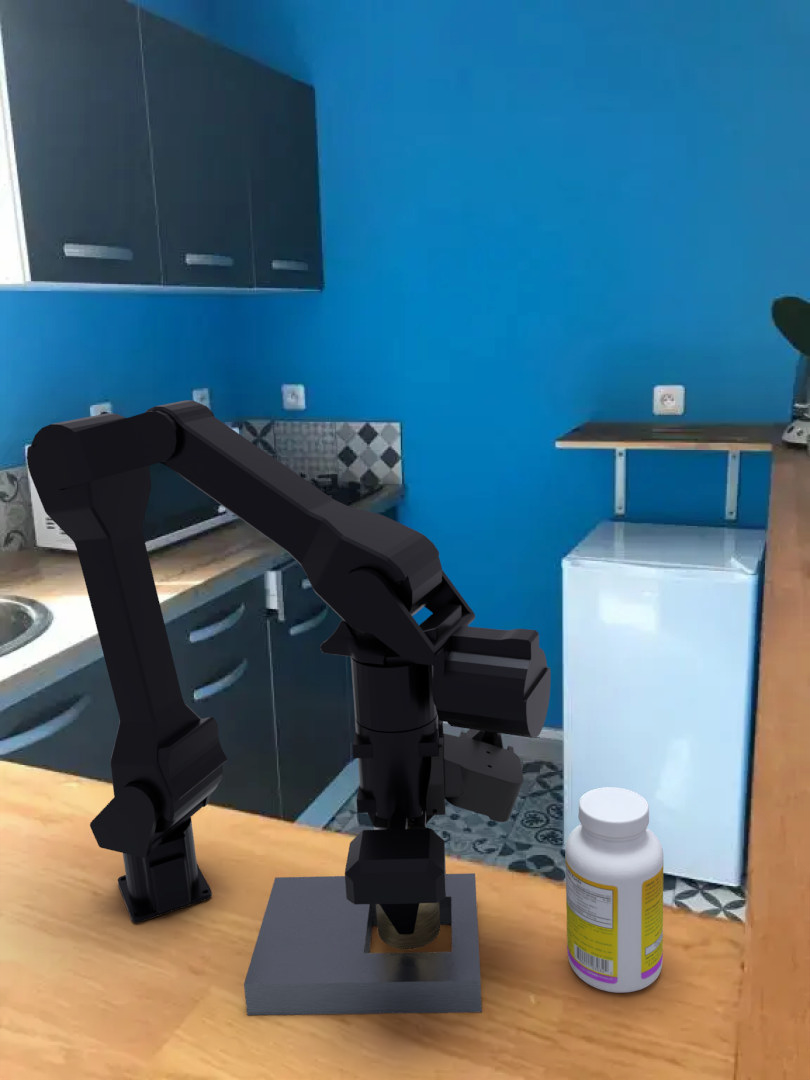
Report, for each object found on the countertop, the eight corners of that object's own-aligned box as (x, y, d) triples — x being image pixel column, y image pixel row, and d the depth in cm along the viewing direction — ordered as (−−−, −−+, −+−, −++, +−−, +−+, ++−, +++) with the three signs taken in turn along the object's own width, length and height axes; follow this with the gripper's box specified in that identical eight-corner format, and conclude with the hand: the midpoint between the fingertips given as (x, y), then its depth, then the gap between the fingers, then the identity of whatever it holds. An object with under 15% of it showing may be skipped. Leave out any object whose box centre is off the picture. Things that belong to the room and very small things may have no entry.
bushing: (367, 921, 70) (361, 837, 68) (421, 901, 72) (417, 819, 70) (395, 957, 66) (389, 869, 64) (451, 935, 68) (448, 849, 66)
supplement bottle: (647, 930, 70) (649, 776, 67) (674, 994, 64) (678, 826, 60) (558, 936, 70) (556, 782, 67) (577, 1001, 64) (576, 833, 60)
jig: (247, 1015, 64) (243, 984, 63) (277, 904, 75) (275, 877, 75) (481, 1012, 63) (480, 980, 62) (476, 900, 75) (475, 873, 74)
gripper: (524, 779, 55) (529, 1003, 59) (505, 659, 73) (509, 836, 77) (336, 783, 55) (353, 1005, 59) (363, 663, 73) (374, 839, 77)
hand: (407, 910), depth 68 cm, fingers closed on bushing, 5 cm apart
